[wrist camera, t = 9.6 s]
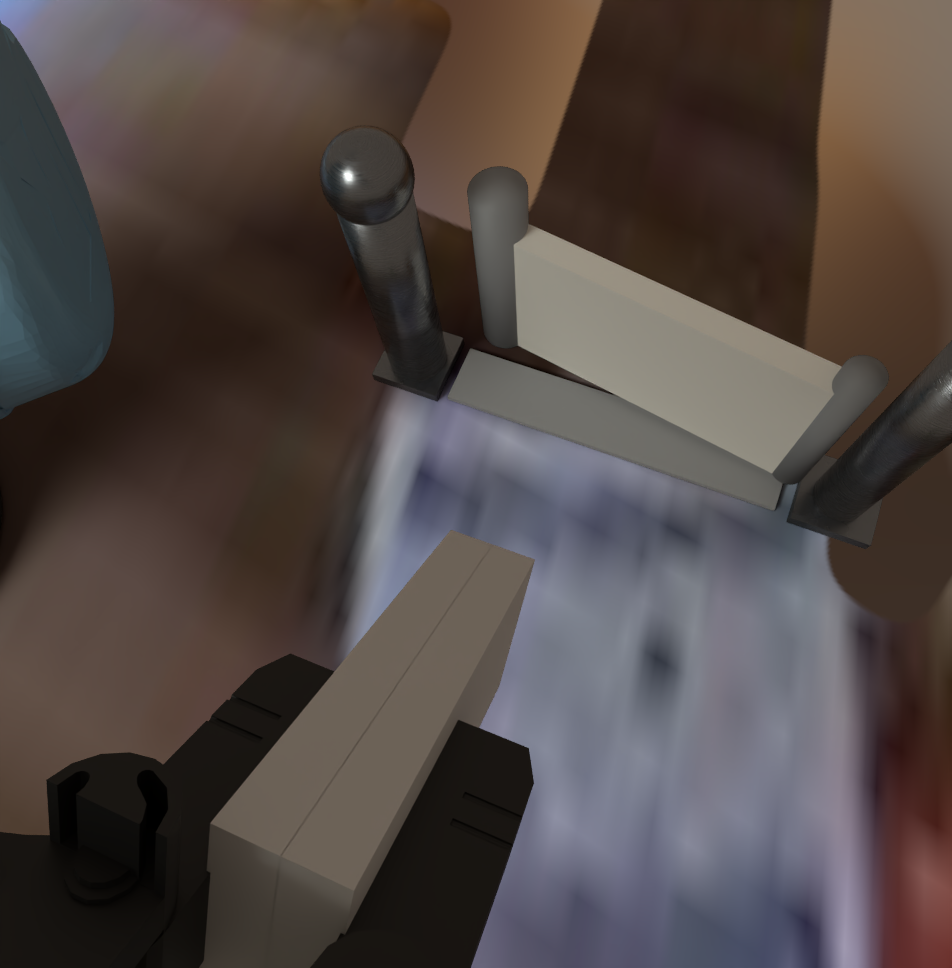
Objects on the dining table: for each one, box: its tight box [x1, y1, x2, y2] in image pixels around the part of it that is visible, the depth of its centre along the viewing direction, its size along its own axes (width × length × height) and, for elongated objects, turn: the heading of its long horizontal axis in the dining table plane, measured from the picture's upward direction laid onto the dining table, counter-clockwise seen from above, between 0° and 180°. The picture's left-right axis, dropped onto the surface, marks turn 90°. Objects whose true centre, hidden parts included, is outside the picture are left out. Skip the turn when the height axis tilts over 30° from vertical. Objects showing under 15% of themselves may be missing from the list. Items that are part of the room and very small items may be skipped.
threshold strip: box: [448, 348, 783, 511], centre depth 38 cm, size 17×3×1 cm, turn 68°
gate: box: [467, 166, 889, 485], centre depth 33 cm, size 17×2×10 cm, turn 58°
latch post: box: [320, 126, 464, 401], centre depth 33 cm, size 4×4×15 cm
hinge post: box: [787, 341, 952, 549], centre depth 30 cm, size 4×4×13 cm
